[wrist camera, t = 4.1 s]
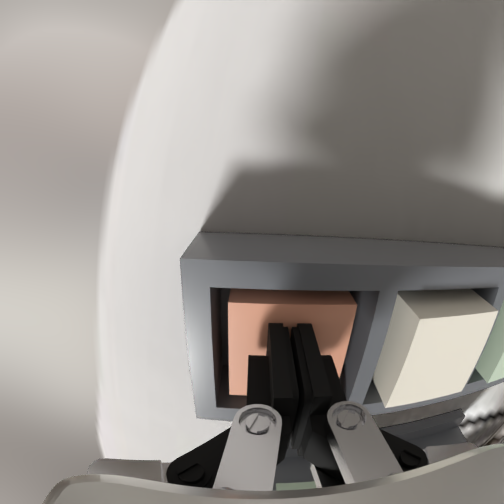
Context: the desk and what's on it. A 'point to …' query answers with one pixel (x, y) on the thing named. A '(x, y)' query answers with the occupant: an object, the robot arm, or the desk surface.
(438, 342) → the key cream
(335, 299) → the key terracotta
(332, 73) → the desk surface
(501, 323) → the key sage
